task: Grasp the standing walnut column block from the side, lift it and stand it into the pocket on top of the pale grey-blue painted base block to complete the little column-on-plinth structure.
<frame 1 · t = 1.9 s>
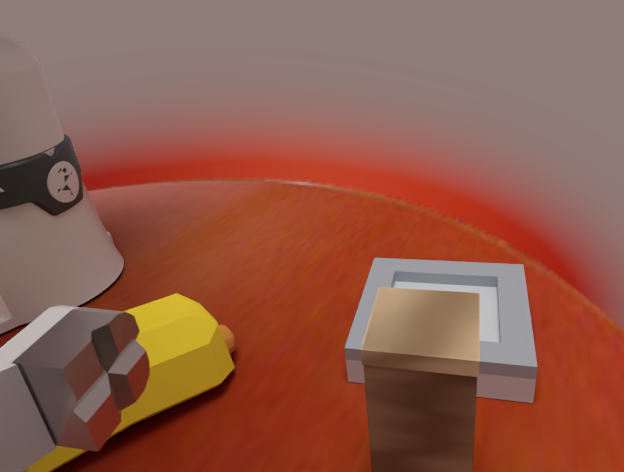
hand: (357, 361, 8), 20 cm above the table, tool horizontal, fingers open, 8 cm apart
hot dog: (125, 411, 37), on the table
plinth base: (441, 335, 40), on the table
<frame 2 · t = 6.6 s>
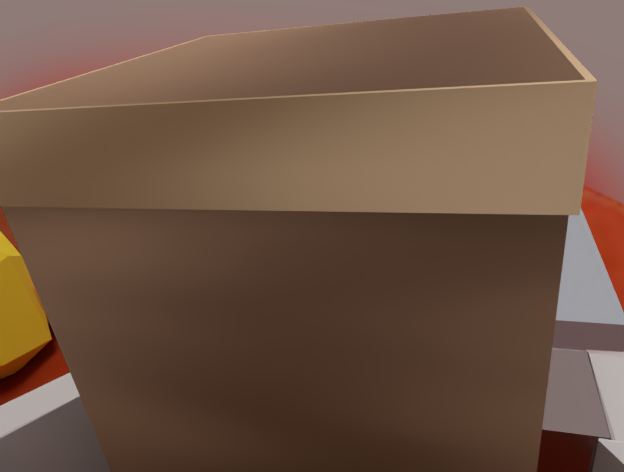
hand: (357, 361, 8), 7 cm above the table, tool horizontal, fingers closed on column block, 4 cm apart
plinth base: (427, 286, 23), on the table
when the fingers open (10 cm above the table, at t = 11.3 s): column block stays where it is, resting on plinth base.
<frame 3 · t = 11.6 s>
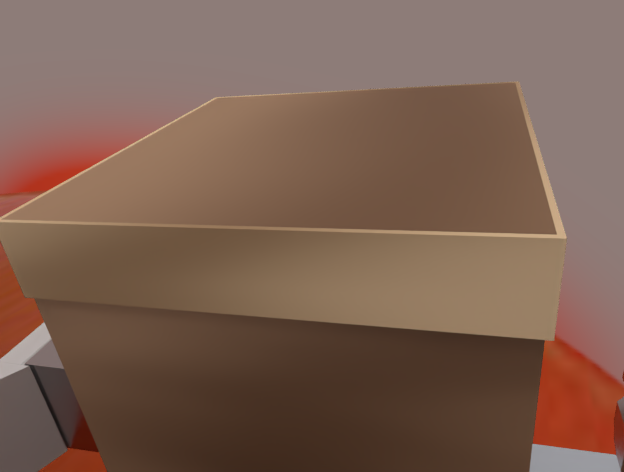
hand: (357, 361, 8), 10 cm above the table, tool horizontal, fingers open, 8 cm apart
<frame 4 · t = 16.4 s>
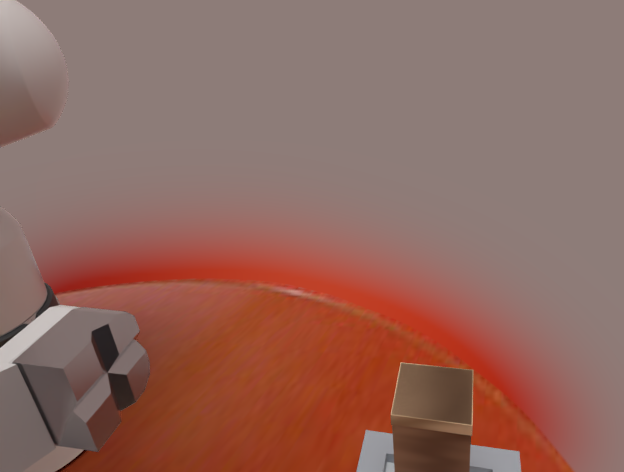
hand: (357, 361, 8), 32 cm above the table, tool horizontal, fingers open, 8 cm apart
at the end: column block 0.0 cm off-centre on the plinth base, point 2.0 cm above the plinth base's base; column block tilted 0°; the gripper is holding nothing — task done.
